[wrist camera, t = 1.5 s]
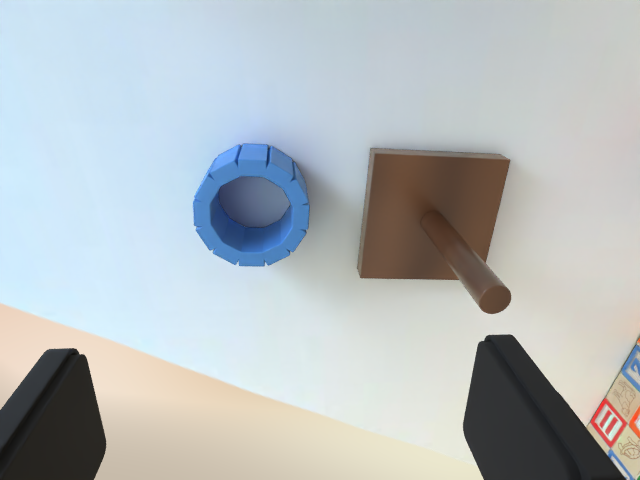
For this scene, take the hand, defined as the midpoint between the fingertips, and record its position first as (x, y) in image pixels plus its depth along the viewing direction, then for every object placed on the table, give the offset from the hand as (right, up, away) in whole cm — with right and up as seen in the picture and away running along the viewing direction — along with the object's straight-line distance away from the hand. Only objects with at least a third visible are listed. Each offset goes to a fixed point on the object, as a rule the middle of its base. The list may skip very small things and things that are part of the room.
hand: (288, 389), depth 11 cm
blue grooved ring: (-4, +7, +20) cm, 21 cm away
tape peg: (+8, +6, +21) cm, 24 cm away
